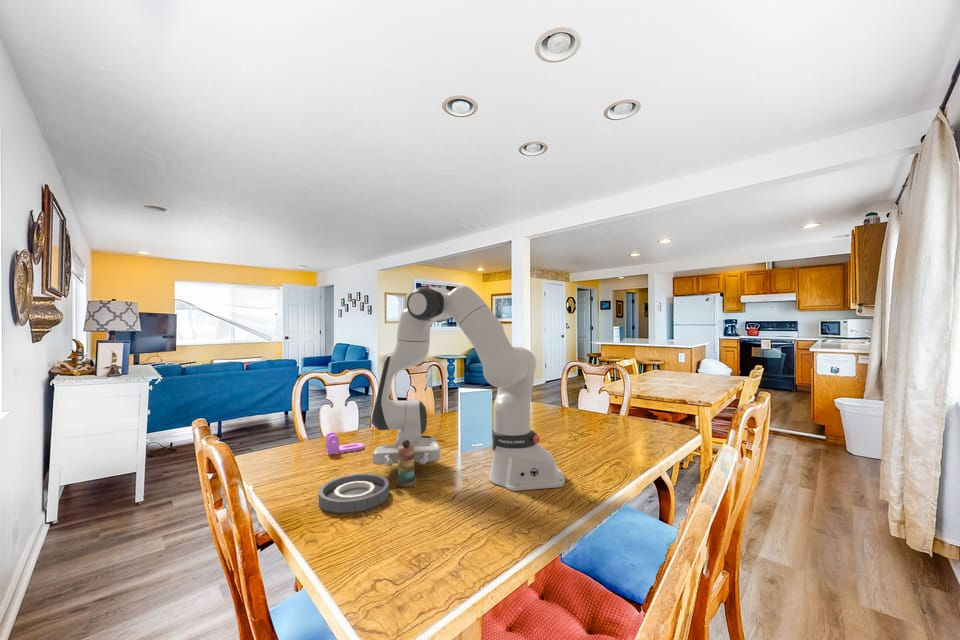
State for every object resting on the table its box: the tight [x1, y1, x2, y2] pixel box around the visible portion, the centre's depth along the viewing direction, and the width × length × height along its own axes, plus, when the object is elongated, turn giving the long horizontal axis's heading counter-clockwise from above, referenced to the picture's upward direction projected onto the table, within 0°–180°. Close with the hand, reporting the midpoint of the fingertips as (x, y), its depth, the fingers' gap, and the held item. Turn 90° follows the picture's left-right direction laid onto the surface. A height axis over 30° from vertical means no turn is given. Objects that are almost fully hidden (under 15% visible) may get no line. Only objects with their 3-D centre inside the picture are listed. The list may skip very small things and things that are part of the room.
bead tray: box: [318, 473, 390, 515], centre depth 106 cm, size 18×18×3 cm
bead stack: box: [395, 440, 418, 489], centre depth 115 cm, size 6×6×13 cm
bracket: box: [325, 431, 365, 456], centre depth 146 cm, size 13×6×7 cm, turn 119°
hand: (406, 462), depth 114 cm, fingers open, 8 cm apart
